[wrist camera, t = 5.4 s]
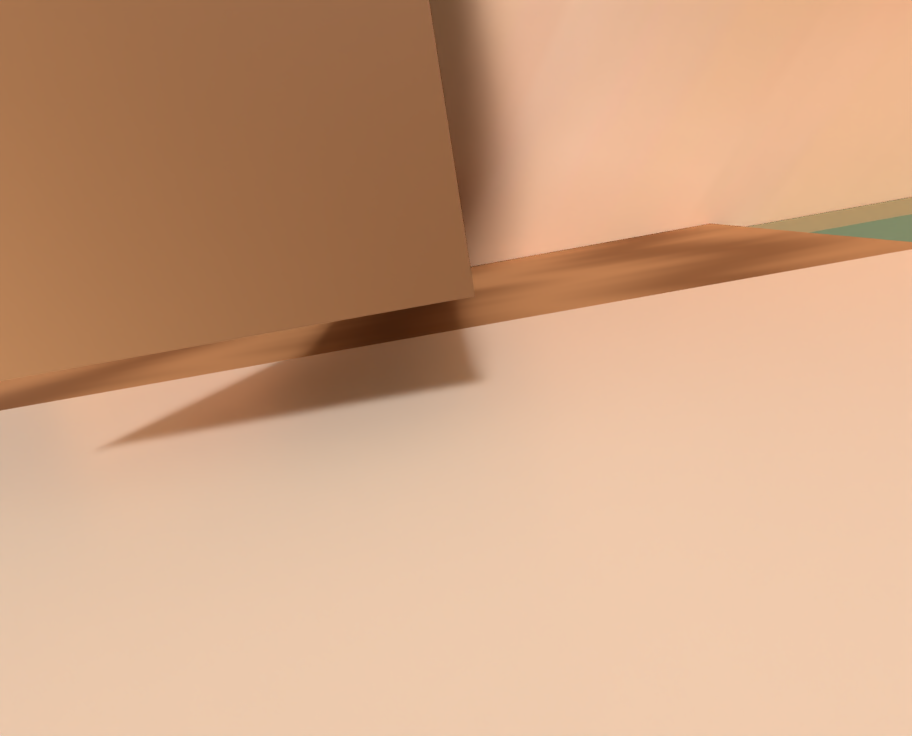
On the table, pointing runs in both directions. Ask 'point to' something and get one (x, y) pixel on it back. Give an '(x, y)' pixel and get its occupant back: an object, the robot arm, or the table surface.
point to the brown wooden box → (488, 301)
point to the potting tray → (856, 222)
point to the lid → (486, 530)
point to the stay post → (217, 173)
